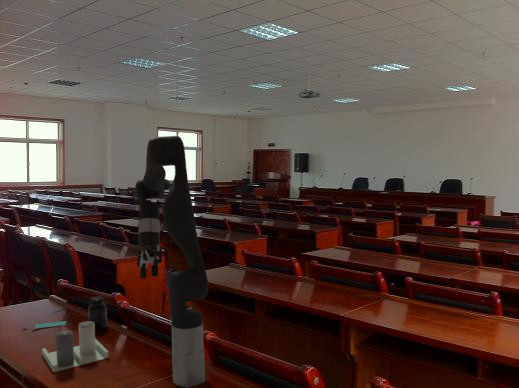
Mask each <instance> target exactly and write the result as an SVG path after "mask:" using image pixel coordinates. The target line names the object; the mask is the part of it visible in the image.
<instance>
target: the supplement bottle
mask: <svg viewBox="0 0 519 388" xmlns="http://www.w3.org/2000/svg"><path fill="white" fill-rule="evenodd" d="M89 300H90V305H89V306H88V308H87V315H88V321H92V322H94V323H95V332H96V331H101V330H104V329H107V327H108V315H107V313H108V312H107V304H105V303H104V297H103V296H94V297H91V298H90V299H89Z"/></svg>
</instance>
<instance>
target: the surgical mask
mask: <svg viewBox="0 0 519 388" xmlns="http://www.w3.org/2000/svg"><path fill="white" fill-rule="evenodd" d="M68 310H70V308H65V309H62V310H57V311H55V312H53V314H55V313H60V312H64V311H68ZM75 322H79V320H78V319H77V320H73V321H69V322H67V321H66V320H62V321H54V322H45V323H39V324H35V325H32V326H28V327H27V330H30V328H31V327H34V328H33V329H32V330H31V332H35V331H40V330H41V329H46V328H56V327H62V326H66V325H71V324H72V323H75ZM25 330H26V328H23V329H22V331H25Z"/></svg>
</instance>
